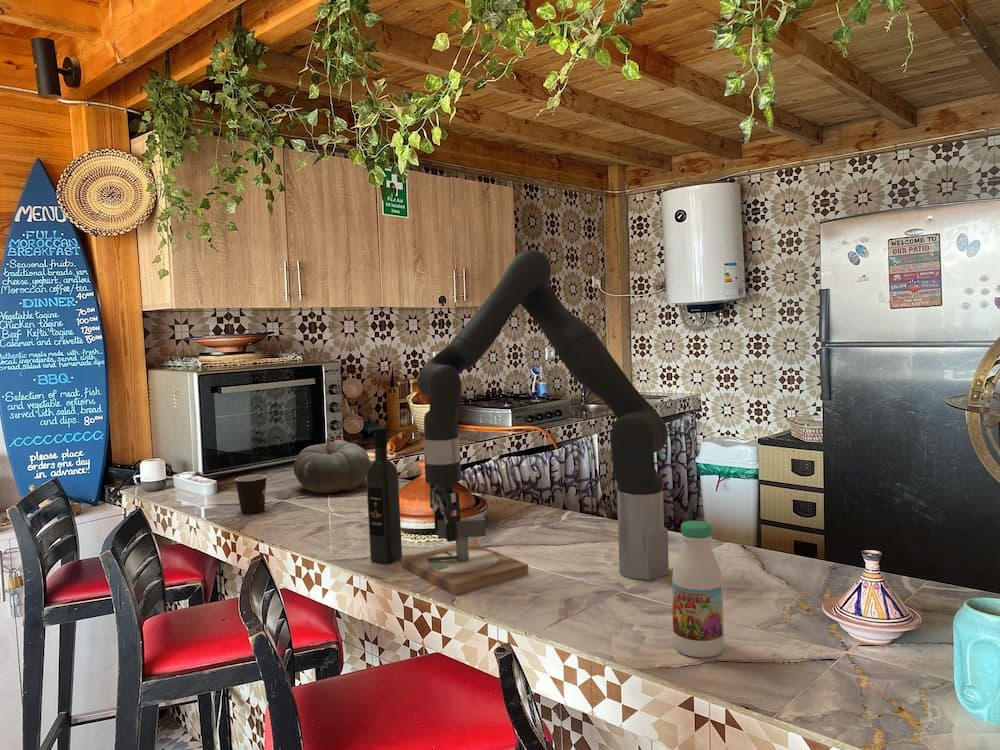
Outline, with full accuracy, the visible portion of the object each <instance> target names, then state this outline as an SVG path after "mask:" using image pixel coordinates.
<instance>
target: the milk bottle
mask: <svg viewBox="0 0 1000 750" xmlns="http://www.w3.org/2000/svg"><path fill="white" fill-rule="evenodd" d="M680 533H681V535H680V538H682V545H681V548H680V552H679V554H678V557H677V558H676V560H675V562H674V566H673V570H672V577H671V578H672V583H671V585H672V588H671V593H672V595H671V596H672V597H671V598H672V605H671V606H672V640H673V646H674V648H675V650H676V651H677V652H679V653H680V654H683V655H685V656H688V657H692V658H701V659H702V658H704V659H705V658H712V657H716V656H719V655H720V654H722V652H723V650H724V647H725V646H724V645H725V637H724V636H725V630H724V629H725V627H724V626H725V624H724V621H725V620H724V593H723V592H724V589H723V577H722V571H721V568H720V565H719V563H718V561H717V558H716V557H715V554H714V552H713V550H712V545H711V539H712V524H710V523H709V522H707V521H704V520H703V521H701V520H687V521H683V522H682V523H681V524H680Z"/></svg>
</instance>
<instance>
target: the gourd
mask: <svg viewBox="0 0 1000 750" xmlns="http://www.w3.org/2000/svg"><path fill="white" fill-rule="evenodd" d="M325 441H326V443H320V444H319V443H318V444H314V445H309V446H307V447H305V448H303V449H302V450H301V451H299V453H298V455H297V457H296V459H295V461H294V463H293V464H294V465H293V472H294V475H295V478H296V479H297V480H298V482H299V483H300V485H301V486H302V487H303V488H304V489H305V490H307V491H309V492H311V493H316V494H321V495H322V494H323V495H324V494H333V493H338V492H339V491H344V492H345V491H346V492H350V491H353V490H355V489H357V488H358V487H359V486H360V485H361V484H362V483H363V482H364V480H365V479H366V475H367V470H368V468H369V466H370V465H371V464H372V462H371V460H370V458H369V454H368V452H367V450H366V449H364V448H363V447H361V446H359V444H356V443H350V442H348V441H347V440H342V439H336V440H334V441H333V442H332V441H330V439H329V437H326V439H325Z"/></svg>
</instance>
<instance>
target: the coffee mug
mask: <svg viewBox="0 0 1000 750" xmlns="http://www.w3.org/2000/svg"><path fill="white" fill-rule="evenodd" d="M234 482H235V487H236V490H237V497H238V501H239V507H240V512H241V514H242V515H256V514H261V513H264V512H265V508H266V507H265V506H266V487H267V475H265V474H250V475H243V476H239V477H236V478H235V481H234Z"/></svg>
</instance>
